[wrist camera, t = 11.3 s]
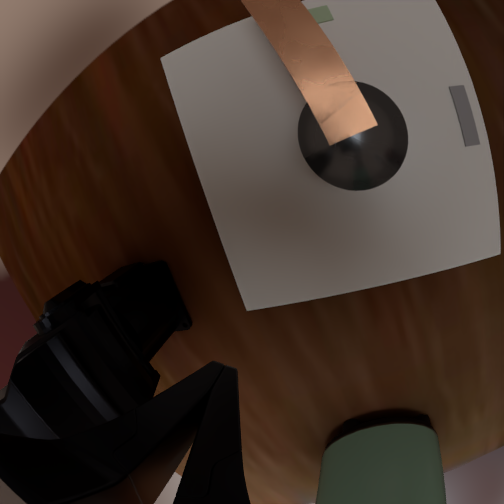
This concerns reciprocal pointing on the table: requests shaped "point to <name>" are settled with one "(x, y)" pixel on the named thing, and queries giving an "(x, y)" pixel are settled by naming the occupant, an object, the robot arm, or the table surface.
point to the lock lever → (333, 102)
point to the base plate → (316, 189)
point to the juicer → (383, 464)
